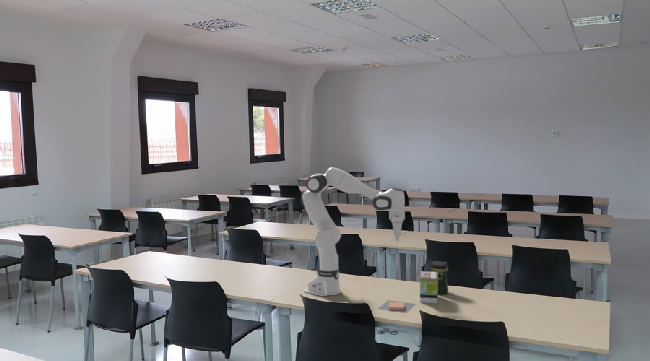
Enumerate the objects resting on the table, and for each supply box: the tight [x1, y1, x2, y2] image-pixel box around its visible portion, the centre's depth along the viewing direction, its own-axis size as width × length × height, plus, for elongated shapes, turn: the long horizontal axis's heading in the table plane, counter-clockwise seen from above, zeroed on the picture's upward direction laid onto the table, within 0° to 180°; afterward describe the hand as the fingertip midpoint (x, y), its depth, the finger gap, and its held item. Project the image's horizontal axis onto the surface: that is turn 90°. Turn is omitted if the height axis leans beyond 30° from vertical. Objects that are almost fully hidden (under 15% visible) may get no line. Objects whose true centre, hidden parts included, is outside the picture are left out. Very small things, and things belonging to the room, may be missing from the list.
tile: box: [388, 301, 404, 311], centre depth 279 cm, size 2×8×8 cm
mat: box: [377, 299, 416, 314], centre depth 282 cm, size 16×16×1 cm
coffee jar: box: [430, 260, 449, 295], centre depth 307 cm, size 10×8×19 cm
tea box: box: [419, 270, 439, 305], centre depth 294 cm, size 15×10×15 cm, turn 168°
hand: (397, 240), depth 298 cm, fingers closed
